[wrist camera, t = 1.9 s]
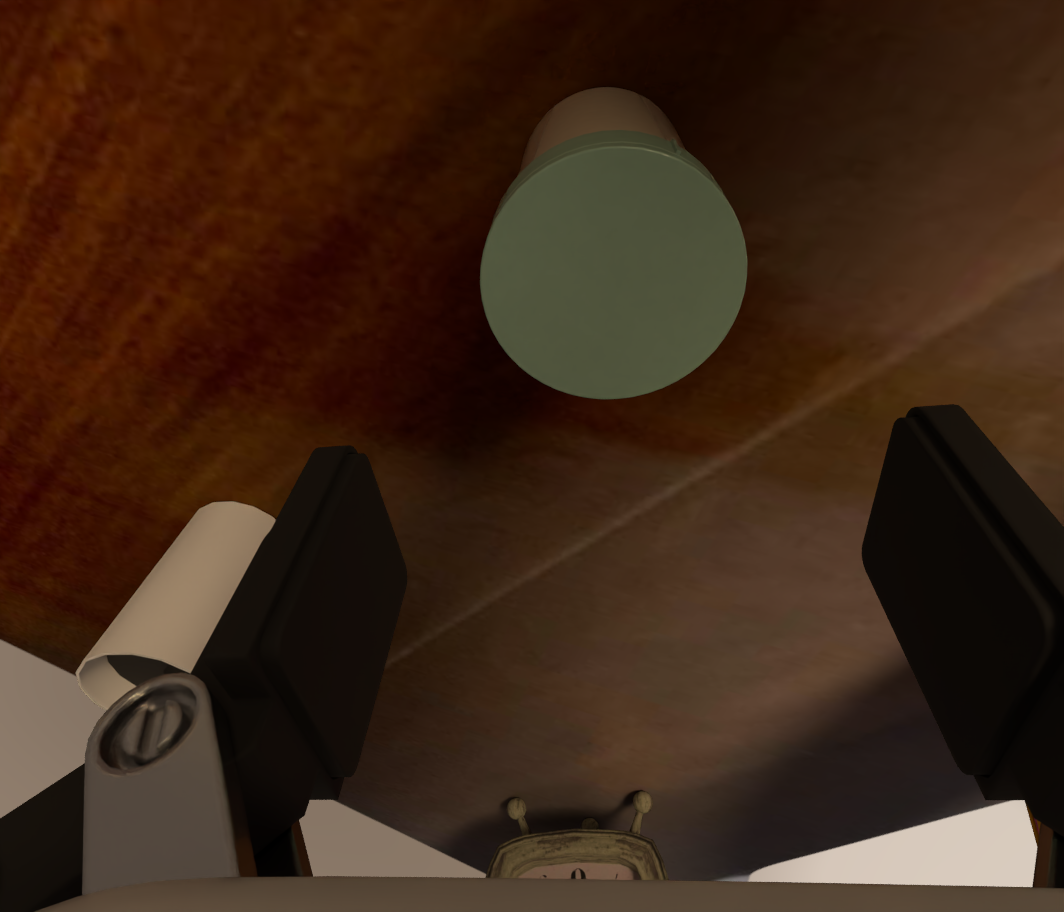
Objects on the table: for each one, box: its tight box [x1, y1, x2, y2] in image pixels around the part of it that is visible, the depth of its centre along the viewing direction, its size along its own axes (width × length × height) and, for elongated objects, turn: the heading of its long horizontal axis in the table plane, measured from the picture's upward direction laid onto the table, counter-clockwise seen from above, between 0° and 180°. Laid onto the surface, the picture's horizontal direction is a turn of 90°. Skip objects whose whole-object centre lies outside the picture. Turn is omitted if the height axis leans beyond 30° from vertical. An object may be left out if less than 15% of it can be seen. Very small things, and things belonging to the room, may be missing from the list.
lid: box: [480, 130, 747, 399], centre depth 17 cm, size 7×7×2 cm
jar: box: [518, 87, 685, 175], centre depth 20 cm, size 6×6×9 cm
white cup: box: [76, 501, 276, 711], centre depth 33 cm, size 7×7×10 cm
